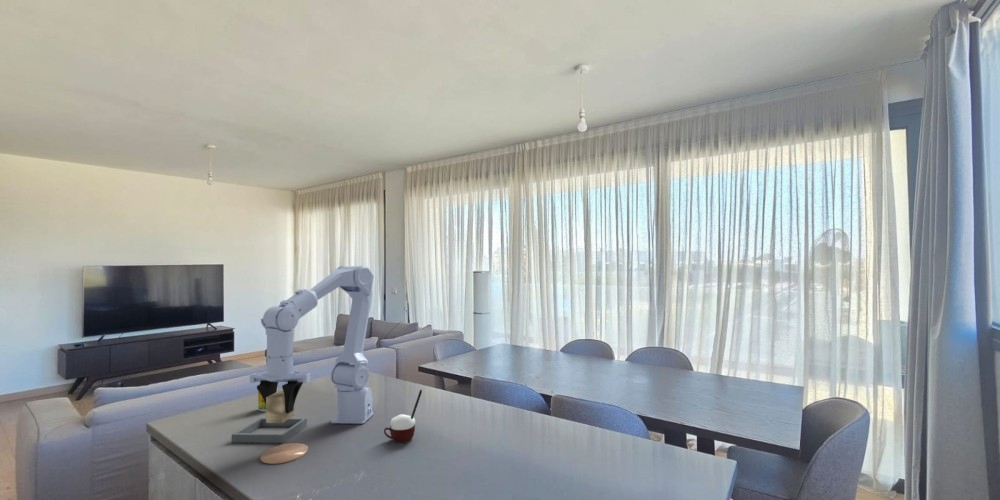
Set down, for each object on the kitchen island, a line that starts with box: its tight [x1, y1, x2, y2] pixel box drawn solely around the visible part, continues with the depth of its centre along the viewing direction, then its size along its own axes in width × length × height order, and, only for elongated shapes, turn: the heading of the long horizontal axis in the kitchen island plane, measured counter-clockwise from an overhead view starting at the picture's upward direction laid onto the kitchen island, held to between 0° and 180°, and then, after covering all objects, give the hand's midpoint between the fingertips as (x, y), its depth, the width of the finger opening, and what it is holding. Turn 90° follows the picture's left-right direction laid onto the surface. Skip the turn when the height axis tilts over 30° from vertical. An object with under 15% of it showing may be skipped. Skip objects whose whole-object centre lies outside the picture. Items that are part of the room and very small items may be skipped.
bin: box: [231, 417, 308, 444], centre depth 115 cm, size 14×12×2 cm
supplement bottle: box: [257, 386, 279, 413], centre depth 135 cm, size 5×5×10 cm
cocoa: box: [383, 389, 423, 444], centre depth 109 cm, size 10×6×12 cm, turn 79°
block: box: [265, 390, 295, 423], centre depth 106 cm, size 4×5×6 cm
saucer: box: [260, 442, 309, 465], centre depth 102 cm, size 10×10×1 cm
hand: (280, 411), depth 106 cm, fingers closed on block, 4 cm apart
